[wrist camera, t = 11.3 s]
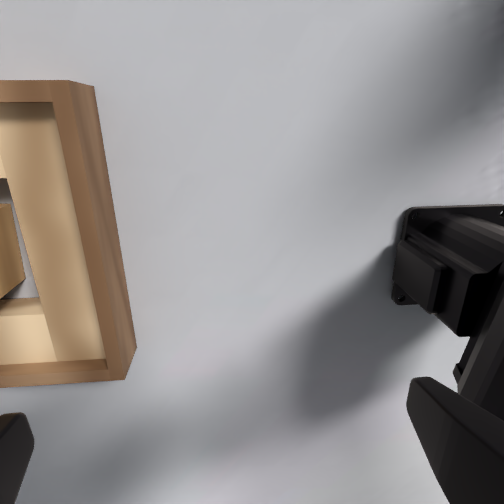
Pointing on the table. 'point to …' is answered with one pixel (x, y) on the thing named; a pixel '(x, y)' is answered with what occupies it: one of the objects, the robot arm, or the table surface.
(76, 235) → the socket box
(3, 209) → the peg
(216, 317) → the table surface
